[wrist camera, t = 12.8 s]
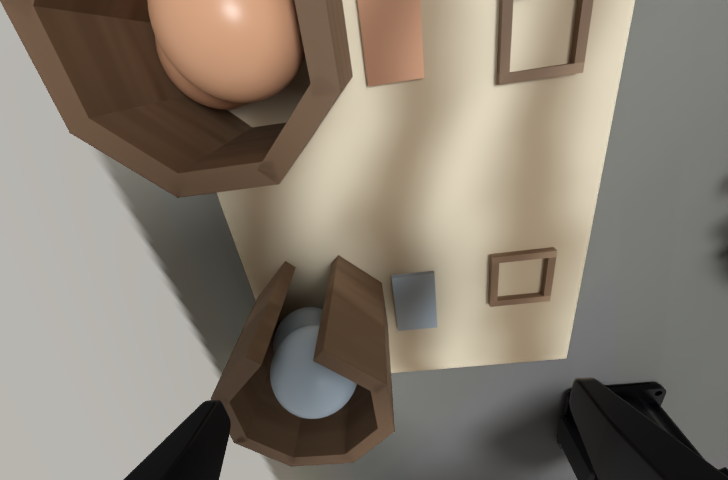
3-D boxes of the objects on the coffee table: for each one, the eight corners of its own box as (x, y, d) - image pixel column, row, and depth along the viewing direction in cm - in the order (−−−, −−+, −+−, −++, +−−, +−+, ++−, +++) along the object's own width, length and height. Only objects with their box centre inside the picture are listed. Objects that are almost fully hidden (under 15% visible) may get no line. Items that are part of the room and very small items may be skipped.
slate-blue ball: (343, 419, 17) (391, 377, 15) (272, 449, 14) (321, 401, 12) (311, 348, 19) (350, 304, 17) (244, 361, 16) (282, 310, 14)
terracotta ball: (225, 114, 12) (334, 90, 12) (148, 116, 8) (302, 80, 8) (185, -17, 11) (305, -53, 10) (72, -84, 7) (249, -147, 7)
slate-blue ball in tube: (345, 300, 19) (314, 371, 16) (361, 335, 21) (336, 400, 19) (283, 288, 20) (247, 351, 18) (305, 322, 23) (277, 380, 21)
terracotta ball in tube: (281, -23, 12) (182, -40, 9) (305, 97, 14) (228, 114, 11) (210, 3, 14) (110, -5, 11) (239, 104, 16) (158, 121, 13)
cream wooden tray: (668, -240, 11) (1138, -702, 4) (562, 351, 23) (639, 472, 16) (111, -120, 12) (-189, -323, 6) (286, 374, 25) (255, 494, 18)
